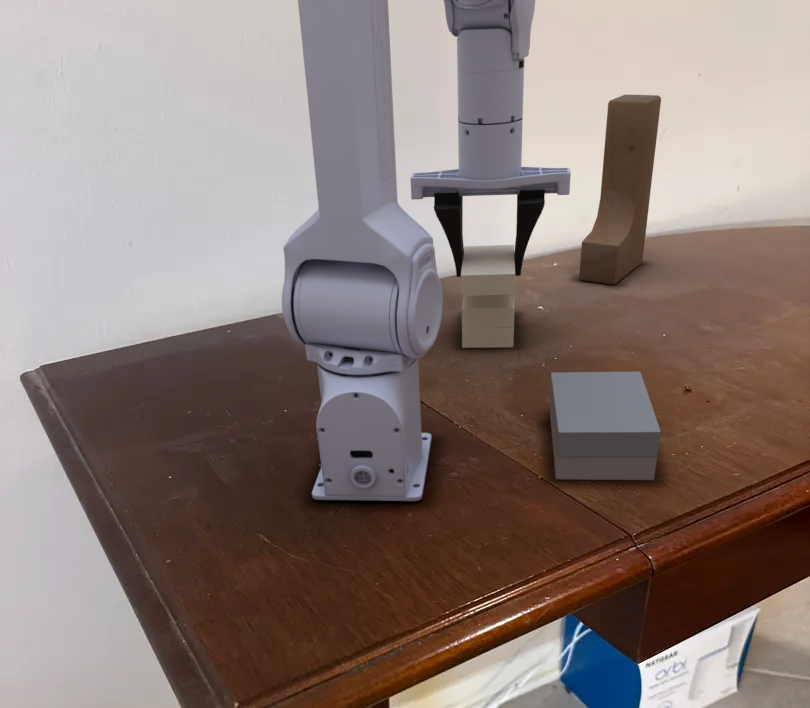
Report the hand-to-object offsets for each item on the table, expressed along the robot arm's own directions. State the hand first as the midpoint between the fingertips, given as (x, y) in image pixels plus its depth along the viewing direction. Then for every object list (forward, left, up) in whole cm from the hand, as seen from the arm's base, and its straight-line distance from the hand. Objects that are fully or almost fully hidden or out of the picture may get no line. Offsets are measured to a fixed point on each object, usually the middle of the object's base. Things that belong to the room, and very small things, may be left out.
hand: (489, 273), depth 80 cm
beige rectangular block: (-1, 0, 0) cm, 1 cm away
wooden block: (+18, -14, -6) cm, 24 cm away
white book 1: (0, 0, -4) cm, 4 cm away
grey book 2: (-24, -9, -6) cm, 26 cm away
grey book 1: (-24, -9, -4) cm, 26 cm away
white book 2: (0, 0, -6) cm, 6 cm away
